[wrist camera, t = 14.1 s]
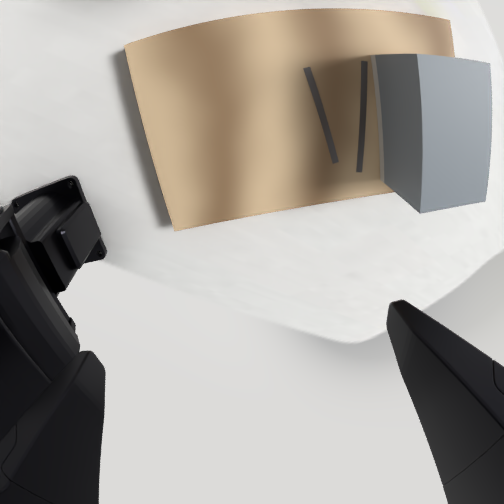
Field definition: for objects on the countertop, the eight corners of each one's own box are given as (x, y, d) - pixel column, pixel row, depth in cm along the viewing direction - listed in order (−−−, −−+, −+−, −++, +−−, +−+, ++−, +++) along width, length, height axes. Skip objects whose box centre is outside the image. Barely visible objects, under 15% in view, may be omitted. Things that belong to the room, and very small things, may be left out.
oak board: (177, 222, 21) (174, 231, 20) (130, 46, 14) (124, 45, 13) (446, 178, 20) (455, 184, 19) (439, 20, 14) (450, 20, 13)
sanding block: (380, 179, 19) (420, 213, 14) (370, 54, 14) (416, 53, 10) (440, 171, 18) (485, 201, 14) (437, 58, 14) (490, 63, 10)
